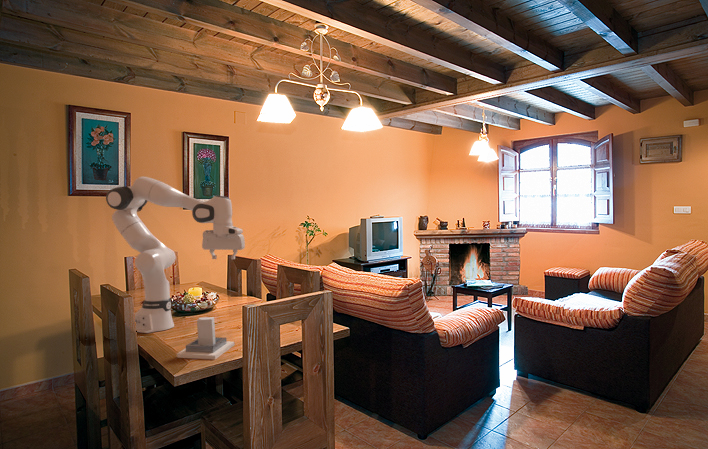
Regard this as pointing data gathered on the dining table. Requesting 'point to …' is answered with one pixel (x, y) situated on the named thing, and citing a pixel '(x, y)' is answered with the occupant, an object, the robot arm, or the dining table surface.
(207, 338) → the skincare box
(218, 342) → the collar
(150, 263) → the robot arm
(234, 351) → the dining table surface
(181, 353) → the collar board
